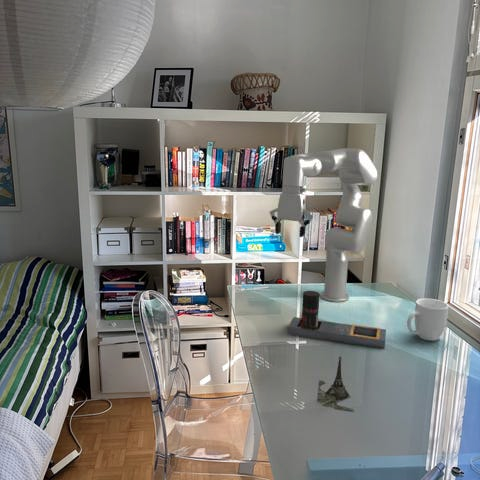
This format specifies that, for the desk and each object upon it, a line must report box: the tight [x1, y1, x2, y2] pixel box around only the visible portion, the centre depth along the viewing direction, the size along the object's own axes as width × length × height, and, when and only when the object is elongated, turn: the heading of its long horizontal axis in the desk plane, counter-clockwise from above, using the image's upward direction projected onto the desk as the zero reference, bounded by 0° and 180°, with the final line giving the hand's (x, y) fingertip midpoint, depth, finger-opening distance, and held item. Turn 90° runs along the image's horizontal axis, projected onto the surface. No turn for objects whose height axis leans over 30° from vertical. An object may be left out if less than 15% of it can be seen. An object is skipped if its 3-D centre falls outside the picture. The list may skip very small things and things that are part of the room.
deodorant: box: [300, 290, 320, 330], centre depth 177 cm, size 6×6×15 cm
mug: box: [406, 298, 449, 342], centre depth 174 cm, size 15×11×13 cm
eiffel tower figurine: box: [316, 355, 355, 412], centre depth 135 cm, size 15×10×13 cm
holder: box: [287, 316, 387, 349], centre depth 175 cm, size 10×34×3 cm, turn 72°
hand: (289, 235), depth 185 cm, fingers open, 9 cm apart
